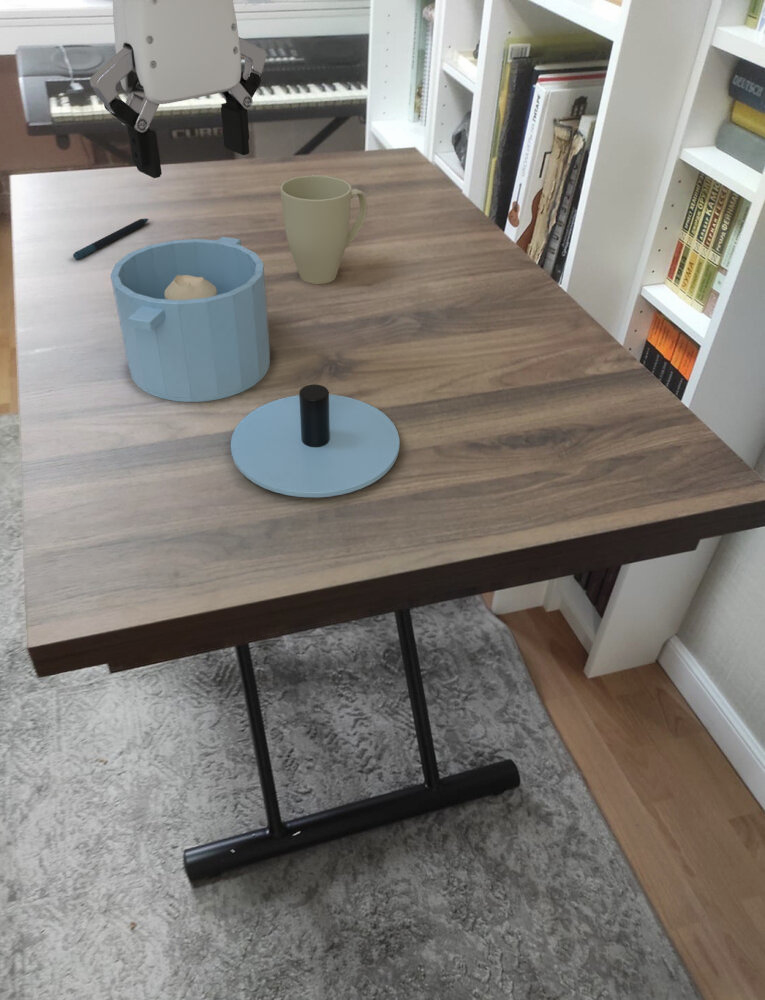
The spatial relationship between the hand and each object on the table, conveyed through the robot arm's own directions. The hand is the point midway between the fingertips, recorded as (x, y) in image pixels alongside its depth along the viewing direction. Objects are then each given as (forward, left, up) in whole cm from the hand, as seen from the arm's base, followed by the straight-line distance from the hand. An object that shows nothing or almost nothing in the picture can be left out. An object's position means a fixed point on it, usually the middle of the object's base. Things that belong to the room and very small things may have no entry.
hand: (194, 162), depth 78 cm
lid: (+15, -9, -23) cm, 29 cm away
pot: (-3, +2, -23) cm, 24 cm away
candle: (-3, +2, -23) cm, 23 cm away
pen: (-31, +29, -24) cm, 48 cm away
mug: (+2, +29, -24) cm, 37 cm away
